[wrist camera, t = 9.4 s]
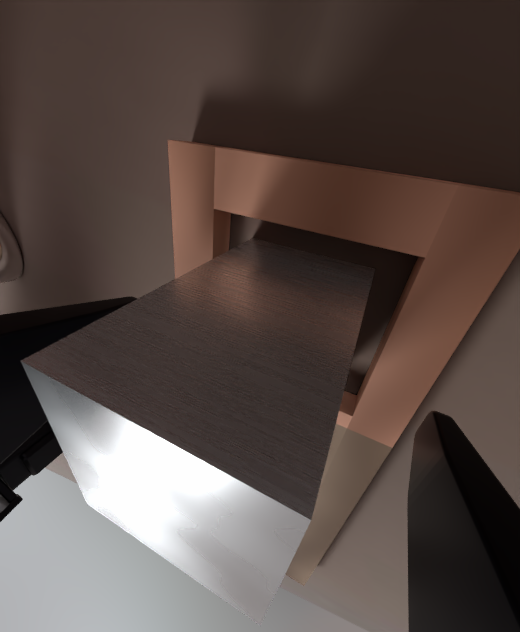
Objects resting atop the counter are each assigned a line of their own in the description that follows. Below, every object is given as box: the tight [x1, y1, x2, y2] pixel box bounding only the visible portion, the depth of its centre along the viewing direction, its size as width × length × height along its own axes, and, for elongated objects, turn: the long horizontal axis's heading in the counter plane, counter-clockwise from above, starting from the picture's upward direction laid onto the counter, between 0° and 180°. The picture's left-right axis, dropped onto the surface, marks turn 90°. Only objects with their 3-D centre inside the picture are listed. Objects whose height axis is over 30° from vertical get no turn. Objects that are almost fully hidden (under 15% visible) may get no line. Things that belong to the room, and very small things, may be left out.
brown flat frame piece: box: [168, 140, 520, 586], centre depth 15 cm, size 10×26×1 cm, turn 173°
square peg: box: [21, 238, 375, 625], centre depth 8 cm, size 4×4×8 cm
